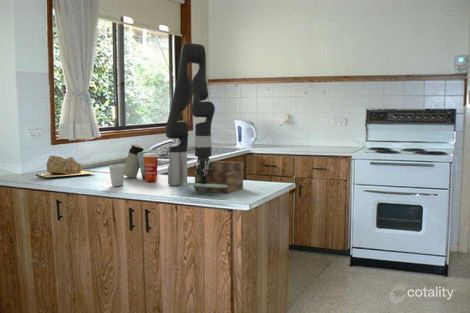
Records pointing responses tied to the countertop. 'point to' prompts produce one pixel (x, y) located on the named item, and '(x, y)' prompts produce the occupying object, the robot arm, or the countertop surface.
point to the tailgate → (205, 185)
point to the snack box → (141, 161)
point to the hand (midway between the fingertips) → (203, 183)
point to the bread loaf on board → (63, 167)
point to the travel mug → (133, 161)
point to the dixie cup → (117, 174)
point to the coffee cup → (150, 166)
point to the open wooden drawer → (223, 177)
